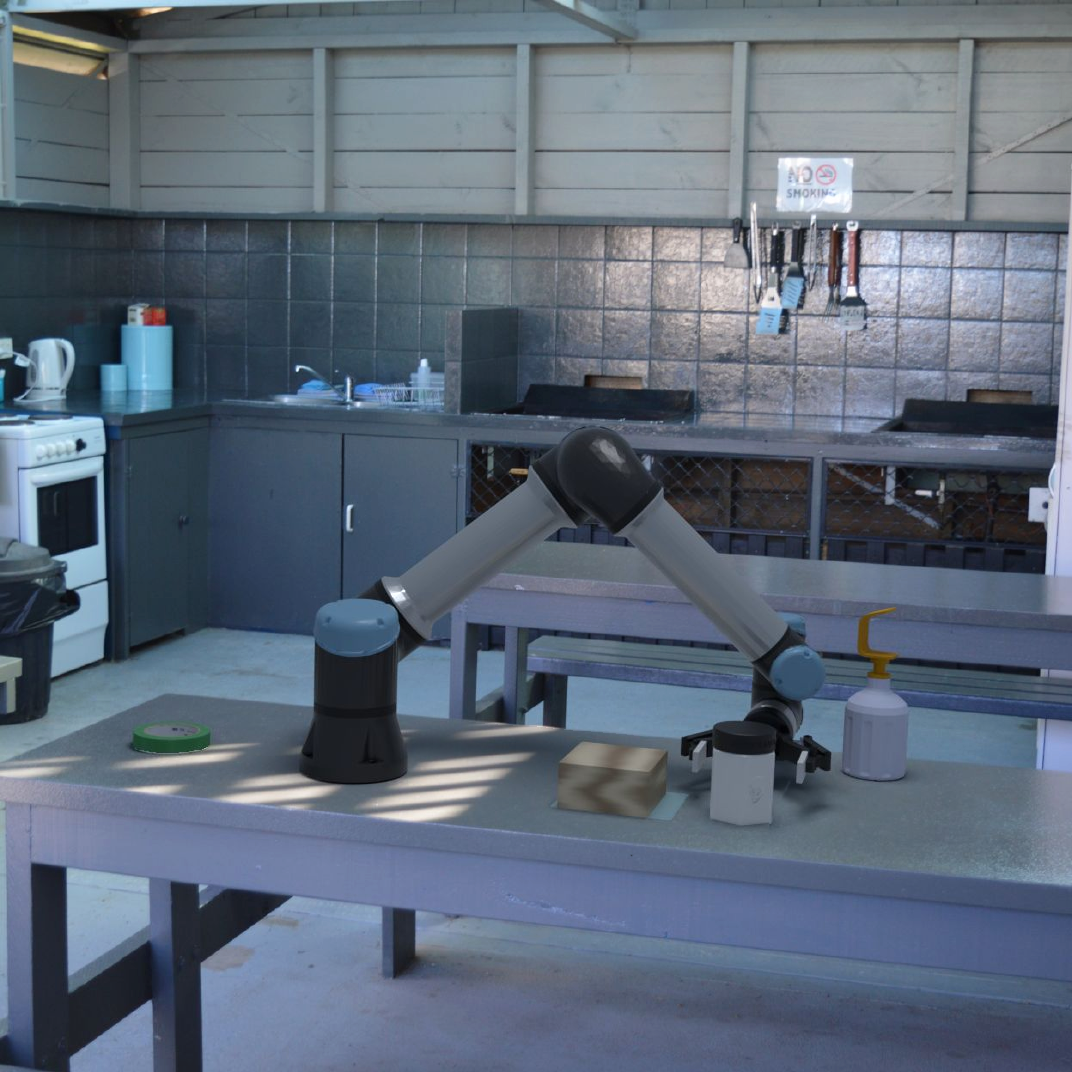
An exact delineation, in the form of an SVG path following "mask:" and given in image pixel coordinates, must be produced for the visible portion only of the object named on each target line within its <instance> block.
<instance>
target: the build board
mask: <svg viewBox="0 0 1072 1072" xmlns="http://www.w3.org/2000/svg"><path fill="white" fill-rule="evenodd" d="M689 795H690V794H689V793H684V792H683V793H682V792H672V791H666V794H665V796H664V797H663V798H662V800H661V801H660V802H659V804H658V805H657V806H656V807H655V809H654V810H653V811H652V813H651V814H650V815H649V817H648V818H647V819H649V820H656V821H657V820H658V821H668V822H671V821H672V820H673V819H674V817H675V815H676V814H677V813H678V811H679V809H681V807H682V806H683V804H684V803H685V801H686V800H687V798H688V797H689ZM549 808H554V809H558V808H557V799H556V800H555V801H554V802H553V803H552V804H551V805H550V806H549ZM561 809H563V810H566V809H565V808H561ZM570 810H573V811H575V810H574V809H570ZM578 811H582V812H584V811H583V810H578ZM588 812H590V813H592V812H591V811H587V813H588ZM596 813H598V814H601V813H600V812H596ZM604 814H606V815H609V814H608V813H604ZM613 815H614V816H618V815H617V814H613ZM621 816H623V817H627V816H626V815H621ZM630 817H632V818H635V817H634V816H630ZM638 818H641V819H644V818H643V817H638Z"/></svg>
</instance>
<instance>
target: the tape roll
mask: <svg viewBox="0 0 1072 1072" xmlns="http://www.w3.org/2000/svg"><path fill="white" fill-rule="evenodd" d="M209 745H210V746H211V729H210V727H208V726H206V725H204V724H201V723H196V722H188V721H159V722H152V723H151V722H150V723H146V724H141V725H140V726H137V727H135V728H134V729H133V735H132V747H133V746H134V748H136V749H137V750H144V751H149V752H156V753H179V752H189V751H194V750H202V749H204V748H206V747H208V746H209ZM210 746H209V747H210ZM209 747H208V748H209ZM134 748H133V749H134ZM137 750H136V751H137ZM202 751H203V750H202Z"/></svg>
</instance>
